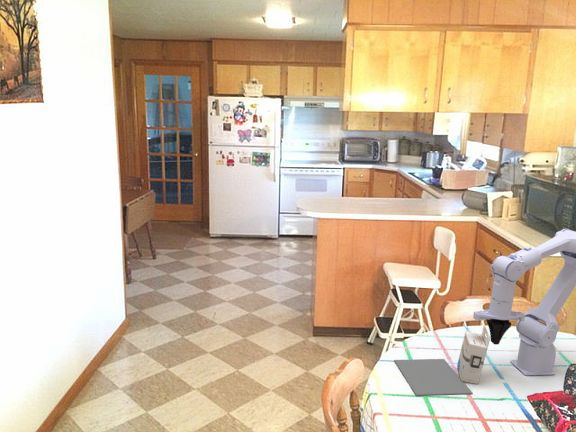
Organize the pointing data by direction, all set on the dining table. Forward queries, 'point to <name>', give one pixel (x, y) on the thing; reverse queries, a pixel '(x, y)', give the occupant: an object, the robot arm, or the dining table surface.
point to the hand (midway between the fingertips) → (494, 342)
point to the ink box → (473, 356)
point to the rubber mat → (432, 377)
